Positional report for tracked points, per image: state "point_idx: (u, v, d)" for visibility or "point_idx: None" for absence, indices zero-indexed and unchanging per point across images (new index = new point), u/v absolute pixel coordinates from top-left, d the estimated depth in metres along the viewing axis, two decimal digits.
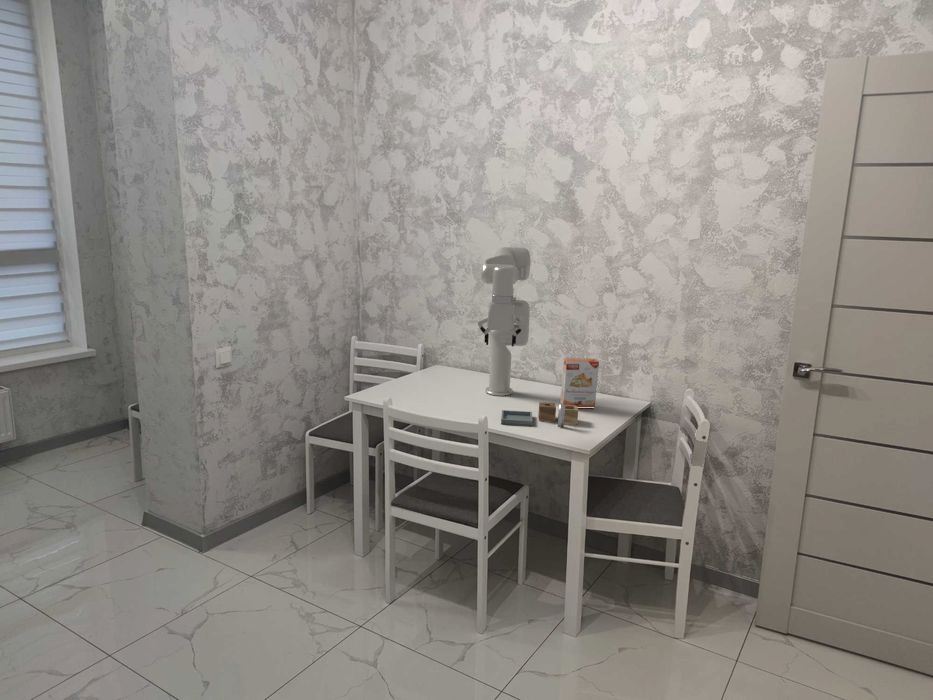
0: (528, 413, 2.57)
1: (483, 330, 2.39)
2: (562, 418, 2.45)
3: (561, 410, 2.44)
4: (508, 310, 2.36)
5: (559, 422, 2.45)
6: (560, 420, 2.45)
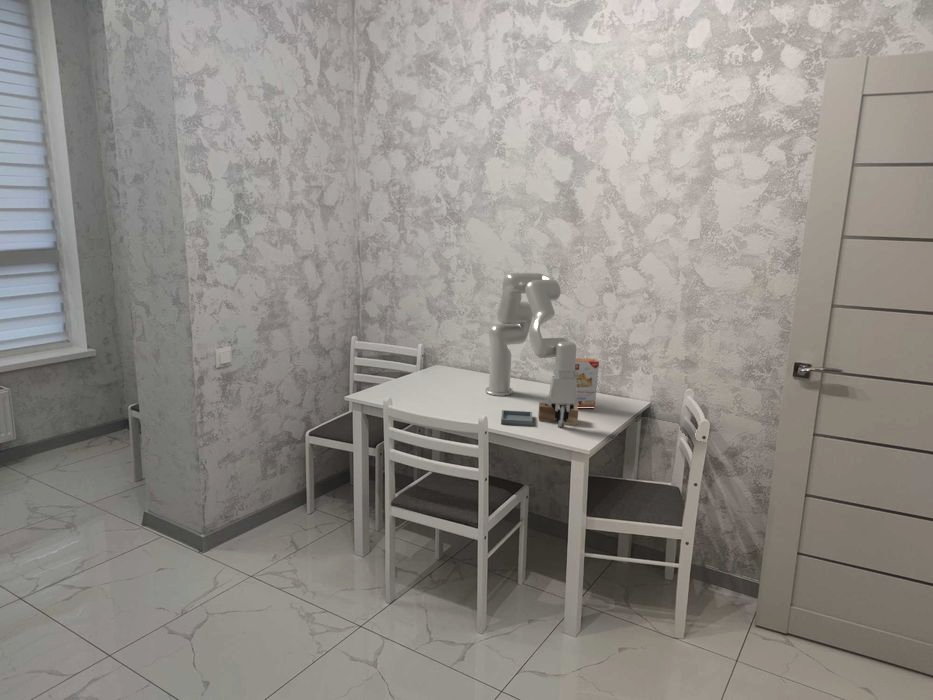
0: (528, 413, 2.57)
1: (554, 407, 2.44)
2: (562, 418, 2.45)
3: (561, 410, 2.44)
4: (571, 384, 2.41)
5: (559, 422, 2.45)
6: (560, 420, 2.45)
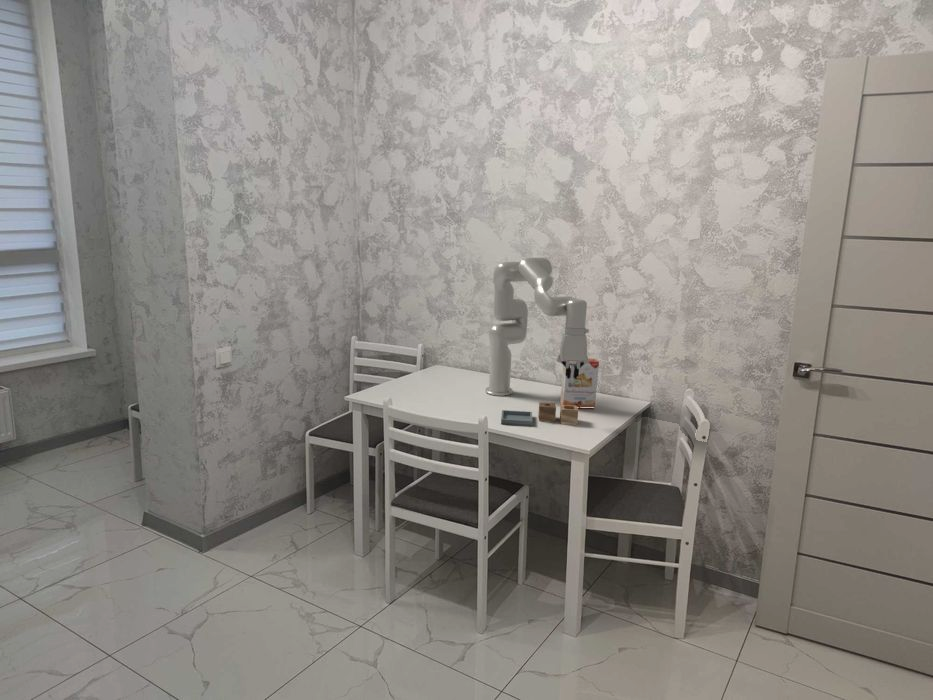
0: (528, 413, 2.57)
1: (565, 364, 2.48)
2: (572, 377, 2.48)
3: (571, 369, 2.48)
4: (581, 341, 2.44)
5: (570, 381, 2.49)
6: (570, 379, 2.48)
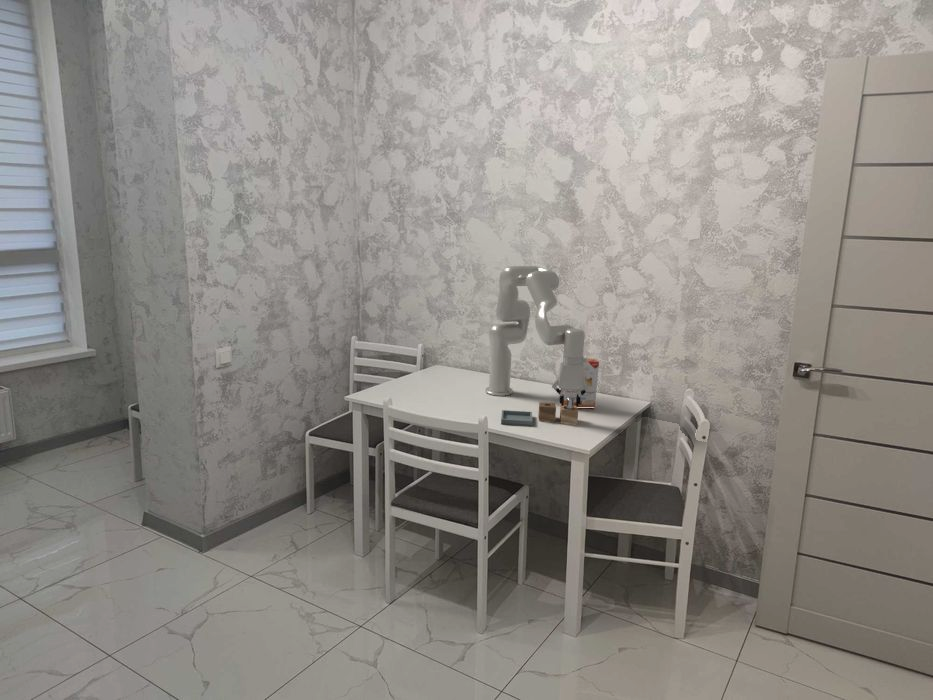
0: (528, 413, 2.57)
1: (559, 392, 2.50)
2: None
3: (569, 403, 2.51)
4: (579, 370, 2.46)
5: None
6: None
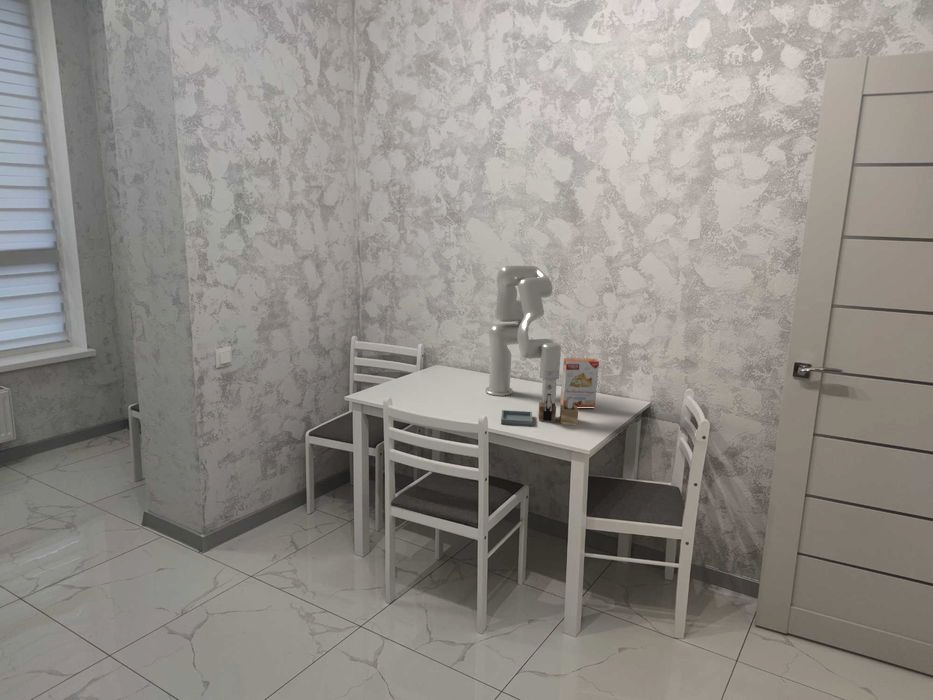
0: (528, 413, 2.57)
1: None
2: None
3: (568, 403, 2.51)
4: (543, 383, 2.50)
5: None
6: None
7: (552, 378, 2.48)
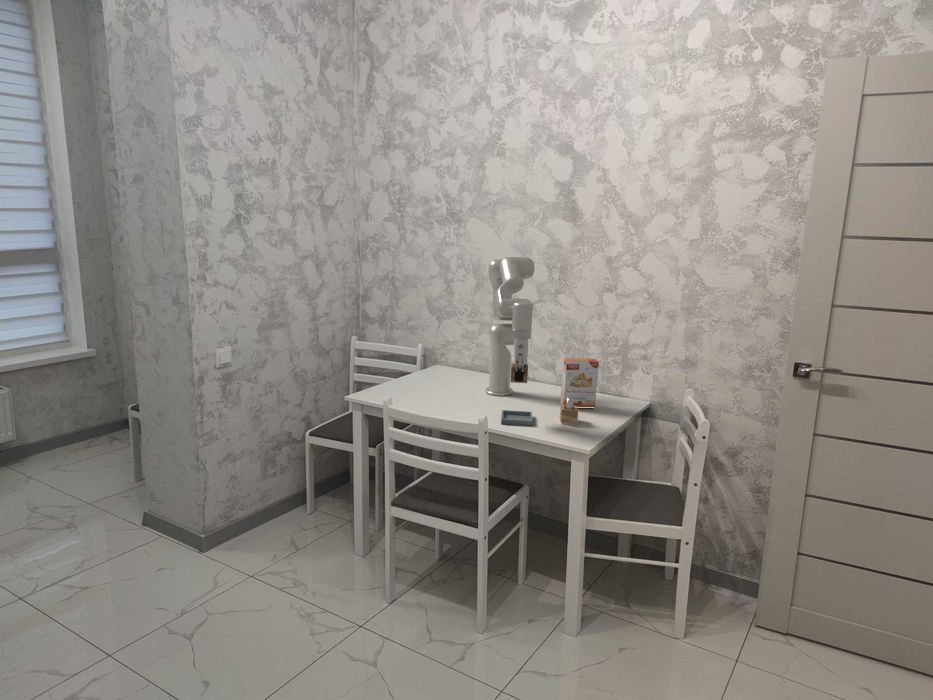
0: (528, 413, 2.57)
1: None
2: None
3: (568, 403, 2.51)
4: (514, 343, 2.44)
5: None
6: None
7: (523, 337, 2.42)
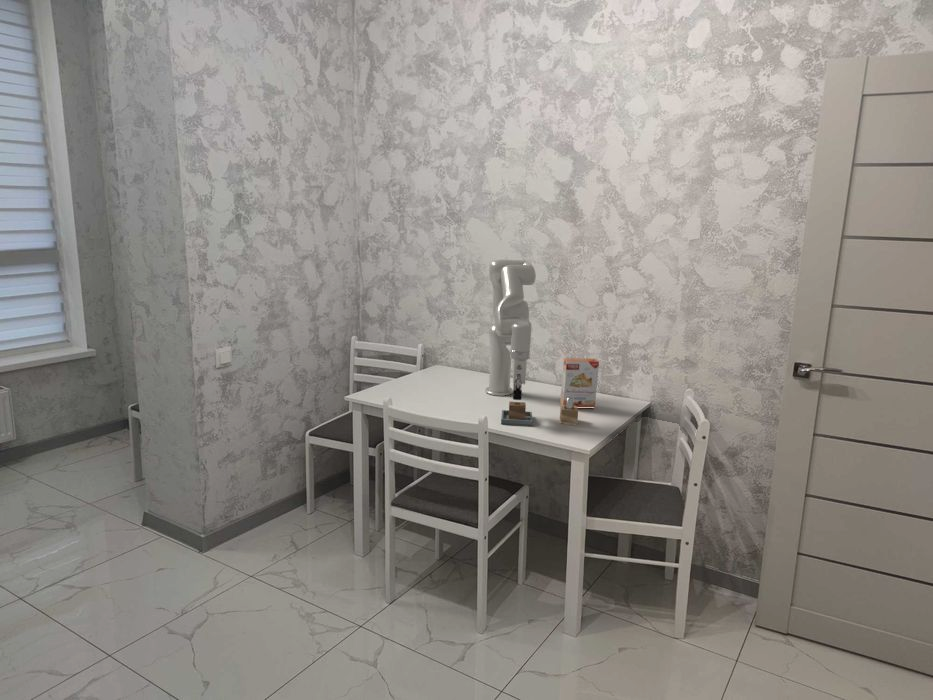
0: (528, 413, 2.57)
1: None
2: None
3: (568, 403, 2.51)
4: (513, 364, 2.48)
5: None
6: None
7: (522, 358, 2.46)
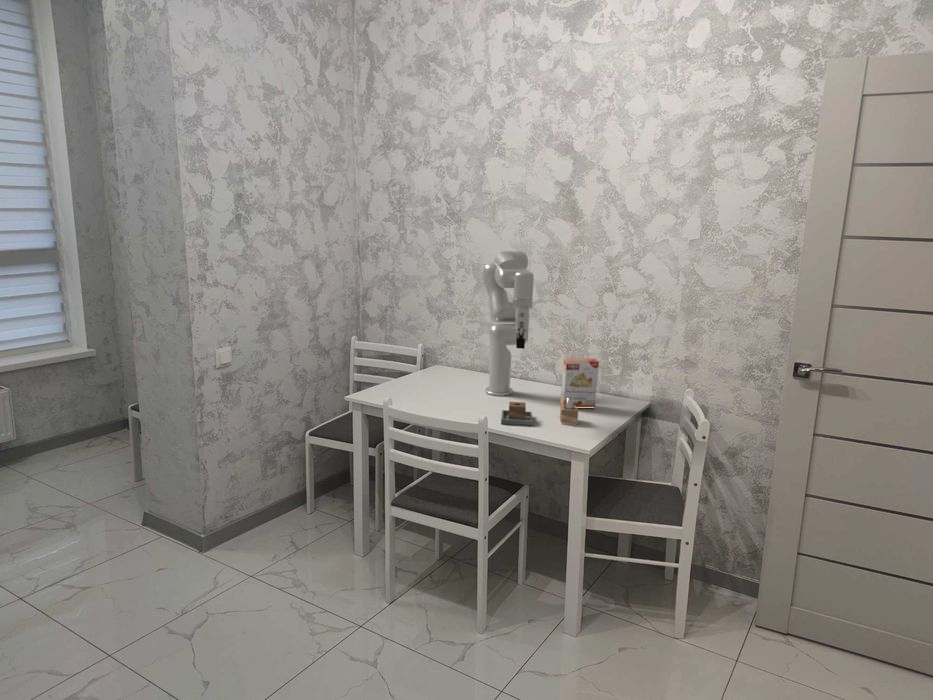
0: (528, 413, 2.57)
1: None
2: None
3: (568, 403, 2.51)
4: (516, 312, 2.50)
5: None
6: None
7: (525, 306, 2.49)
